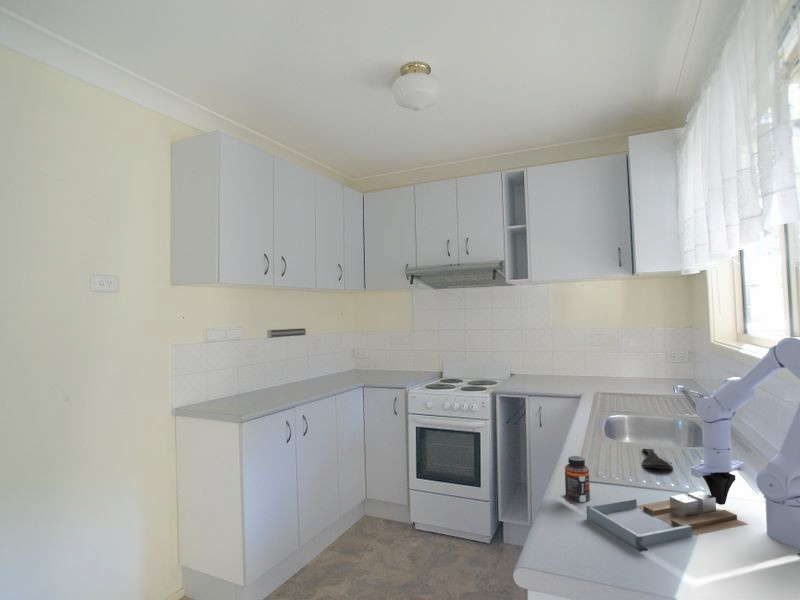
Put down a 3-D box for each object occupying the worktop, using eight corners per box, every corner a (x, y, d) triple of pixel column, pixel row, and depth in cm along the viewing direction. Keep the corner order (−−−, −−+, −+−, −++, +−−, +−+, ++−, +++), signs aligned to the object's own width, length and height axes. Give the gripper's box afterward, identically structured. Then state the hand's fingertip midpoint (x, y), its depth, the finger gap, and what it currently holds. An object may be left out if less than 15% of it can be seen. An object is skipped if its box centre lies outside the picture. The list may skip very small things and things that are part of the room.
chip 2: (716, 514, 109) (715, 497, 109) (703, 516, 108) (702, 499, 108) (700, 507, 113) (700, 491, 113) (688, 509, 111) (687, 493, 112)
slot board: (748, 528, 104) (747, 519, 104) (693, 540, 99) (692, 530, 99) (685, 501, 119) (685, 493, 119) (635, 509, 114) (635, 501, 114)
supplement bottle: (590, 507, 116) (589, 462, 117) (565, 504, 118) (564, 460, 119) (589, 498, 122) (588, 455, 122) (565, 495, 124) (564, 453, 124)
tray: (691, 540, 99) (691, 526, 99) (639, 551, 95) (638, 536, 95) (634, 510, 114) (633, 498, 114) (586, 518, 110) (586, 506, 110)
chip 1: (698, 517, 107) (697, 500, 107) (684, 520, 106) (684, 502, 106) (683, 510, 111) (682, 494, 111) (670, 513, 110) (669, 496, 110)
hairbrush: (659, 443, 161) (676, 462, 137) (660, 454, 161) (677, 475, 137) (633, 442, 164) (645, 460, 140) (633, 452, 163) (646, 473, 140)
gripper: (723, 439, 118) (725, 492, 118) (679, 445, 114) (681, 500, 114) (751, 447, 111) (753, 503, 111) (705, 453, 107) (707, 512, 107)
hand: (719, 503), depth 112 cm, fingers closed
